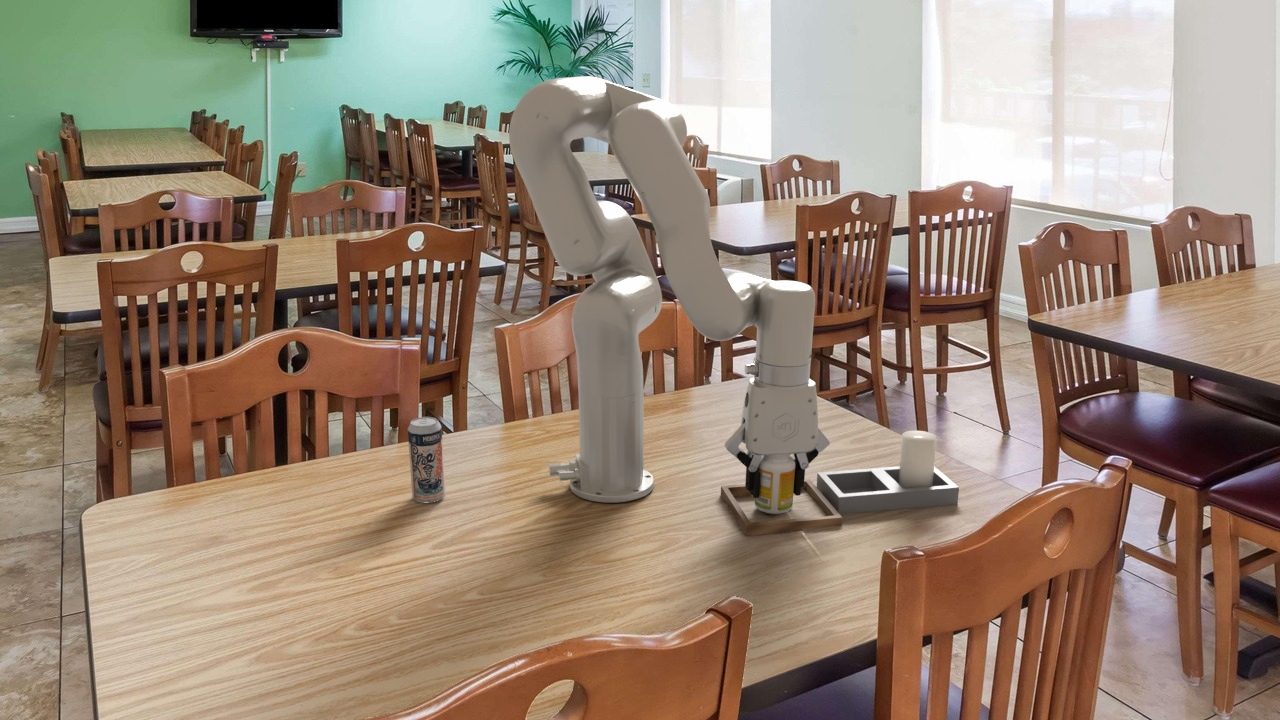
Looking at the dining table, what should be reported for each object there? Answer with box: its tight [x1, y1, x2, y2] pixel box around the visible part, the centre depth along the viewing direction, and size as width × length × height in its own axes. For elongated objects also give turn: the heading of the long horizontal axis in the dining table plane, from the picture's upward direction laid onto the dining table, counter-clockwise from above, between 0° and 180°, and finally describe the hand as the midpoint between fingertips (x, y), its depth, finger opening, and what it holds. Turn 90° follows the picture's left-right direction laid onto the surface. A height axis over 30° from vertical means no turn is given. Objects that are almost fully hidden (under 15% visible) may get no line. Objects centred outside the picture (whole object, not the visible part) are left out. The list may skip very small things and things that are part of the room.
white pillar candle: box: [899, 430, 937, 489], centre depth 157 cm, size 5×5×9 cm
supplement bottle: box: [754, 454, 795, 515], centre depth 153 cm, size 5×5×10 cm
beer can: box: [407, 416, 447, 503], centre depth 157 cm, size 5×5×12 cm
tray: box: [720, 478, 843, 537], centre depth 154 cm, size 14×14×2 cm
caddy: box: [816, 465, 960, 515], centre depth 158 cm, size 18×9×3 cm, turn 100°
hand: (774, 491), depth 154 cm, fingers closed on supplement bottle, 5 cm apart
